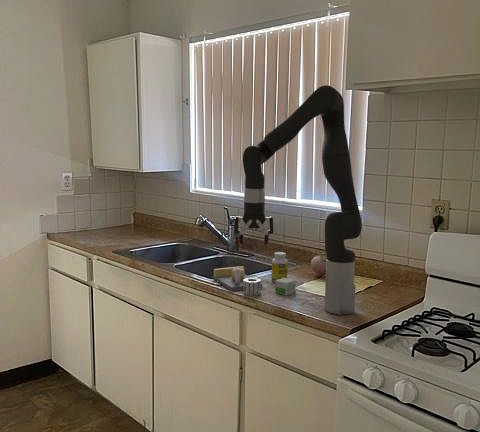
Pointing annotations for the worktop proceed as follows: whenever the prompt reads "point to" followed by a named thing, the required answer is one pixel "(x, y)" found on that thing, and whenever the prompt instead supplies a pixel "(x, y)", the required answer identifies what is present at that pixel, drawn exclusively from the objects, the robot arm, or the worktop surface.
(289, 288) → the small box
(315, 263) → the decorative fruit
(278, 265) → the pill bottle
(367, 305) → the worktop surface
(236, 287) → the carrier
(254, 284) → the planet gear
